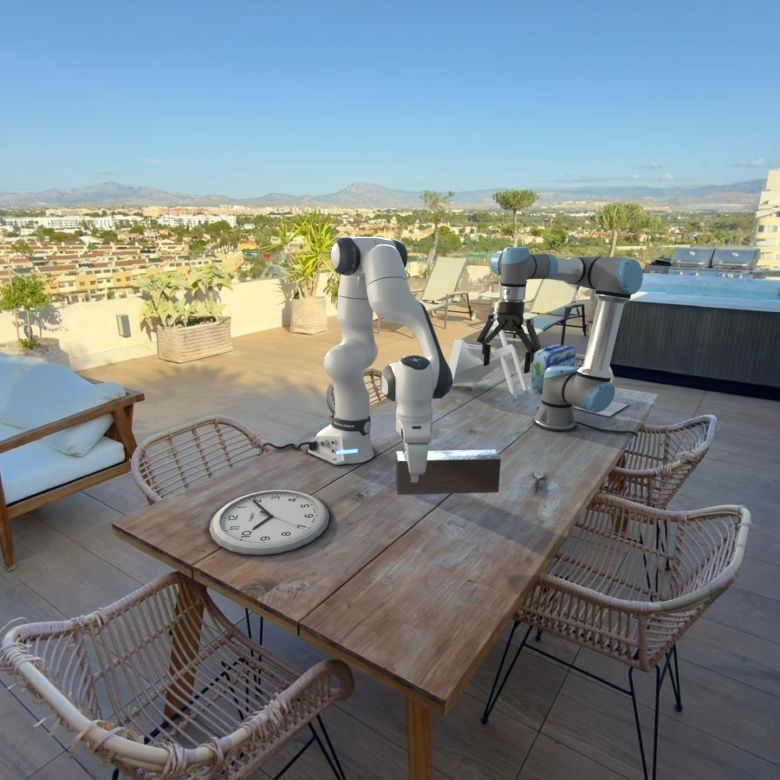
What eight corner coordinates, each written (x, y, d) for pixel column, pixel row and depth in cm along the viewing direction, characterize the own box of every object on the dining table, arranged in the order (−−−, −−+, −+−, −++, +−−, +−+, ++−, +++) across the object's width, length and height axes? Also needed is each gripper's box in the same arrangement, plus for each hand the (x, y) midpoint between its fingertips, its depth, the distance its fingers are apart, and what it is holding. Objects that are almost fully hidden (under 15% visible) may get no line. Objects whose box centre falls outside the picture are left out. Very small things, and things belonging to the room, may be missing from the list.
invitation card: (608, 416, 214) (573, 407, 224) (608, 416, 214) (573, 408, 224) (628, 404, 229) (594, 396, 238) (628, 405, 229) (594, 397, 238)
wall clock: (327, 546, 121) (194, 551, 119) (327, 552, 122) (195, 557, 119) (330, 485, 150) (223, 488, 147) (330, 490, 150) (224, 493, 148)
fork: (530, 493, 151) (531, 487, 150) (535, 470, 165) (536, 465, 164) (539, 495, 150) (540, 489, 149) (544, 472, 164) (544, 466, 163)
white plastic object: (461, 429, 252) (437, 405, 227) (444, 352, 274) (420, 323, 250) (535, 404, 240) (518, 377, 215) (510, 326, 262) (492, 293, 237)
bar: (493, 482, 136) (495, 449, 133) (498, 492, 130) (500, 458, 128) (396, 484, 135) (396, 451, 132) (397, 494, 129) (397, 460, 126)
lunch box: (547, 397, 237) (552, 352, 231) (526, 391, 245) (531, 348, 238) (574, 386, 255) (580, 344, 249) (554, 381, 262) (559, 340, 256)
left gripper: (398, 409, 136) (397, 457, 141) (404, 439, 117) (403, 494, 121) (422, 408, 137) (420, 457, 141) (432, 438, 117) (430, 494, 121)
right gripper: (469, 297, 161) (464, 364, 167) (547, 305, 147) (539, 378, 153) (480, 295, 167) (476, 360, 173) (557, 303, 153) (549, 373, 159)
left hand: (413, 474), depth 131 cm, fingers closed on bar, 5 cm apart
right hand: (506, 368), depth 163 cm, fingers open, 13 cm apart
